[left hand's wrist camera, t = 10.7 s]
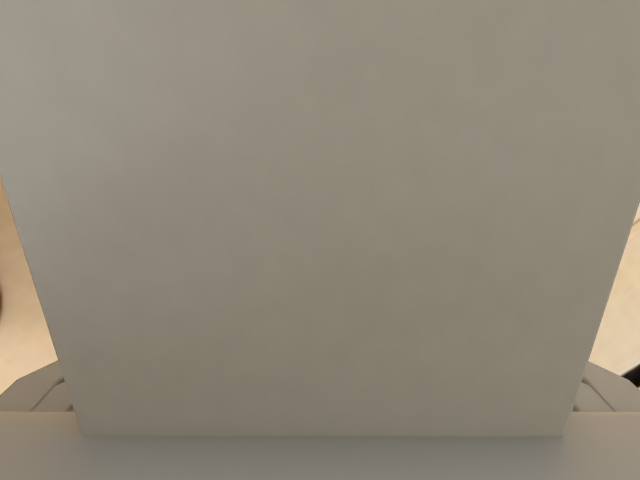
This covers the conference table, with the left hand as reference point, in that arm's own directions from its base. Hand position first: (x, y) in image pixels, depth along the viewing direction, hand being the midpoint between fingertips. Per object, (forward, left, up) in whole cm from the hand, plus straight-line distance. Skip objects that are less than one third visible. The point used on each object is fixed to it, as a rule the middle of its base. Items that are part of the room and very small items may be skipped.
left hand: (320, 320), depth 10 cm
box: (-3, +8, -8) cm, 11 cm away
